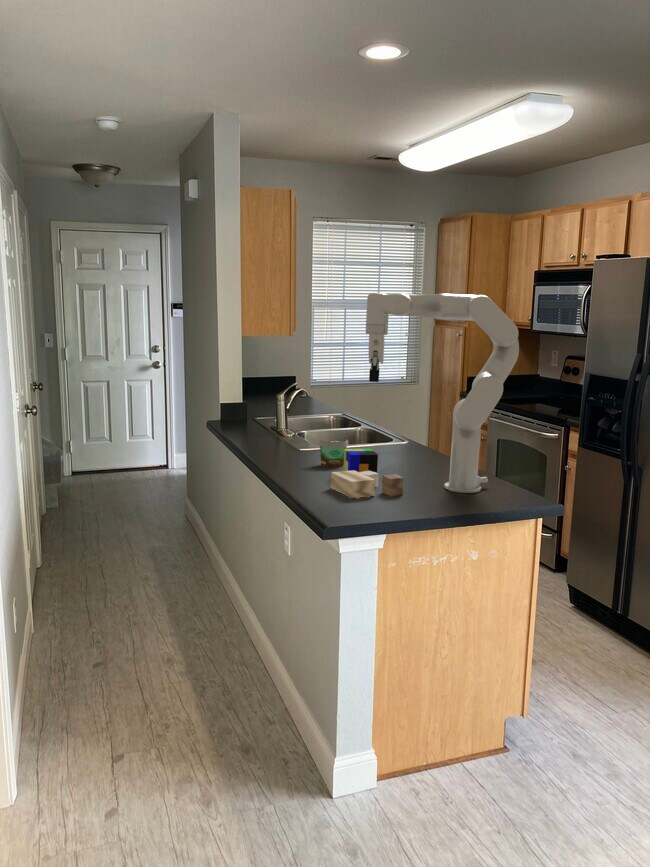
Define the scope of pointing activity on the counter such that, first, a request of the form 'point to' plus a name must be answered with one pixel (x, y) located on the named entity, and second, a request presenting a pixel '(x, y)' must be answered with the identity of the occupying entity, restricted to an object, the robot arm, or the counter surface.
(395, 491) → the walnut block
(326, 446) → the food container
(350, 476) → the maple block
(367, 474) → the offwhite cube
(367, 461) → the puzzle toy
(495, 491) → the counter surface
